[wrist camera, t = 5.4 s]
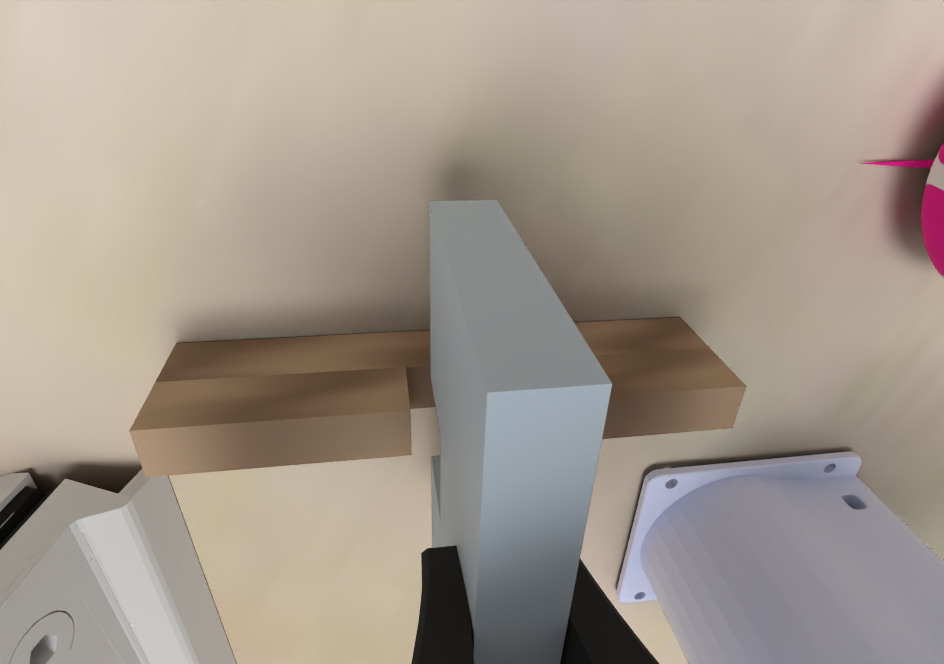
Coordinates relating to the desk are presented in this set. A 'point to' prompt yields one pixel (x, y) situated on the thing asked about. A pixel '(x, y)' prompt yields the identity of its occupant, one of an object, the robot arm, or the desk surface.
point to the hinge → (102, 577)
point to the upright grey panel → (509, 432)
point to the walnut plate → (392, 395)
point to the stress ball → (931, 206)
